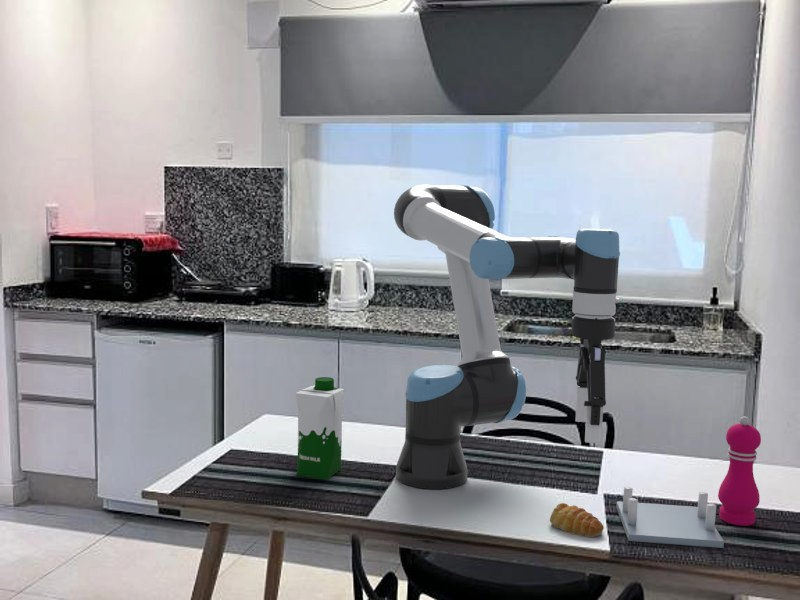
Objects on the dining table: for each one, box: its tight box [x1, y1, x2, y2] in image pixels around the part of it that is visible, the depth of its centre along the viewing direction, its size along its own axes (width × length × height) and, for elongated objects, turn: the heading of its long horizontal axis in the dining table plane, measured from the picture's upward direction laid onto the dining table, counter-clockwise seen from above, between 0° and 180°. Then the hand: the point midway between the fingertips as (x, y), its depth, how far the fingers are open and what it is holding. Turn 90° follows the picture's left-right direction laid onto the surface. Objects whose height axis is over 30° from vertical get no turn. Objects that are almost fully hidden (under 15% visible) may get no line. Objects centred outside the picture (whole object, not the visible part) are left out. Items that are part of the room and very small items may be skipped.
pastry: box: [549, 502, 605, 538], centre depth 148 cm, size 9×7×4 cm
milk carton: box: [295, 376, 345, 481], centre depth 173 cm, size 9×9×20 cm
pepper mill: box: [717, 415, 762, 527], centre depth 153 cm, size 7×7×20 cm
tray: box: [615, 486, 725, 549], centre depth 150 cm, size 16×16×6 cm
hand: (587, 431), depth 148 cm, fingers open, 13 cm apart
